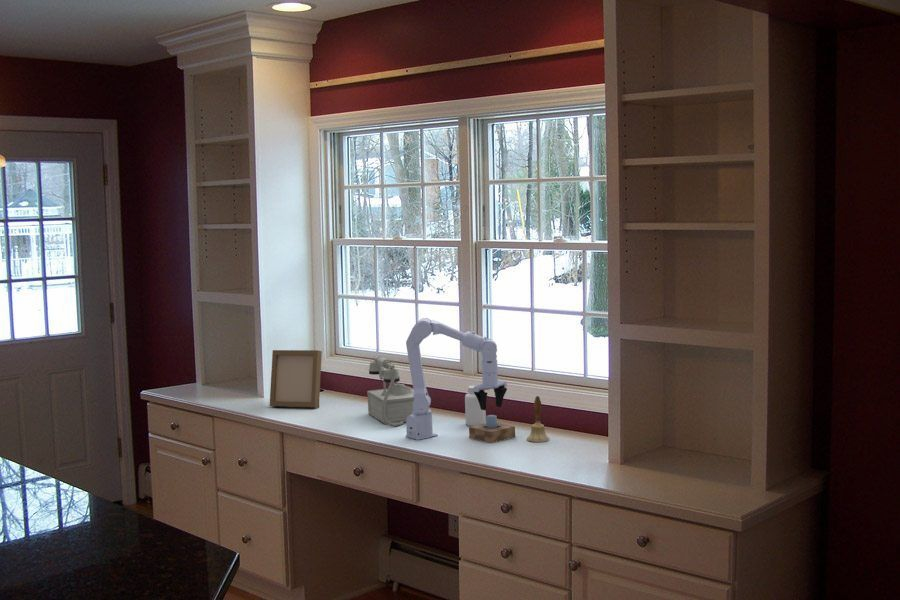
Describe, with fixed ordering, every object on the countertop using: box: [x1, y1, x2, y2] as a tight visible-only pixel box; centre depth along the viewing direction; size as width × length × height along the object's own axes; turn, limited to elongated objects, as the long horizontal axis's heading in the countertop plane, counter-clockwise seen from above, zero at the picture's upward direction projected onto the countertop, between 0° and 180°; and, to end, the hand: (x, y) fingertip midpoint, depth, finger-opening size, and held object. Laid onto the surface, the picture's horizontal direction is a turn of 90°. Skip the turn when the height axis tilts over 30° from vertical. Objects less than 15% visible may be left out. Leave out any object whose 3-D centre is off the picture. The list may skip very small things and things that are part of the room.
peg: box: [486, 414, 498, 429], centre depth 361 cm, size 4×4×8 cm
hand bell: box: [526, 395, 550, 443], centre depth 354 cm, size 8×8×16 cm
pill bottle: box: [464, 385, 487, 427], centre depth 383 cm, size 8×8×15 cm
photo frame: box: [269, 349, 323, 408], centre depth 433 cm, size 15×22×25 cm
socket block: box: [468, 422, 516, 444], centre depth 361 cm, size 12×12×4 cm
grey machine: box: [366, 356, 414, 427], centre depth 399 cm, size 32×20×25 cm, turn 21°
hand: (491, 408), depth 365 cm, fingers open, 7 cm apart
